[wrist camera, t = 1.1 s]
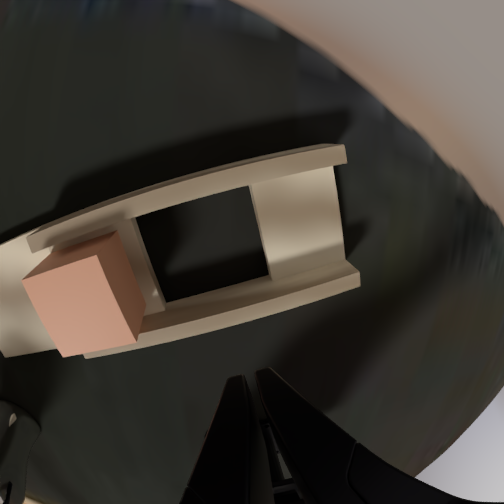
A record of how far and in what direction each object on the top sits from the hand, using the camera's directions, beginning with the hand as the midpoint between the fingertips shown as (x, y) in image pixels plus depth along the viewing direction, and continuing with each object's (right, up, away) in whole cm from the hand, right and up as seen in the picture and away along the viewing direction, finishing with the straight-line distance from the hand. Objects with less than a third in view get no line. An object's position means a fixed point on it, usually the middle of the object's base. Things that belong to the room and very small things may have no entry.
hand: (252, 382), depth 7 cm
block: (-10, +2, +10) cm, 14 cm away
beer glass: (-26, -15, +14) cm, 33 cm away
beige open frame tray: (-8, +2, +11) cm, 14 cm away
